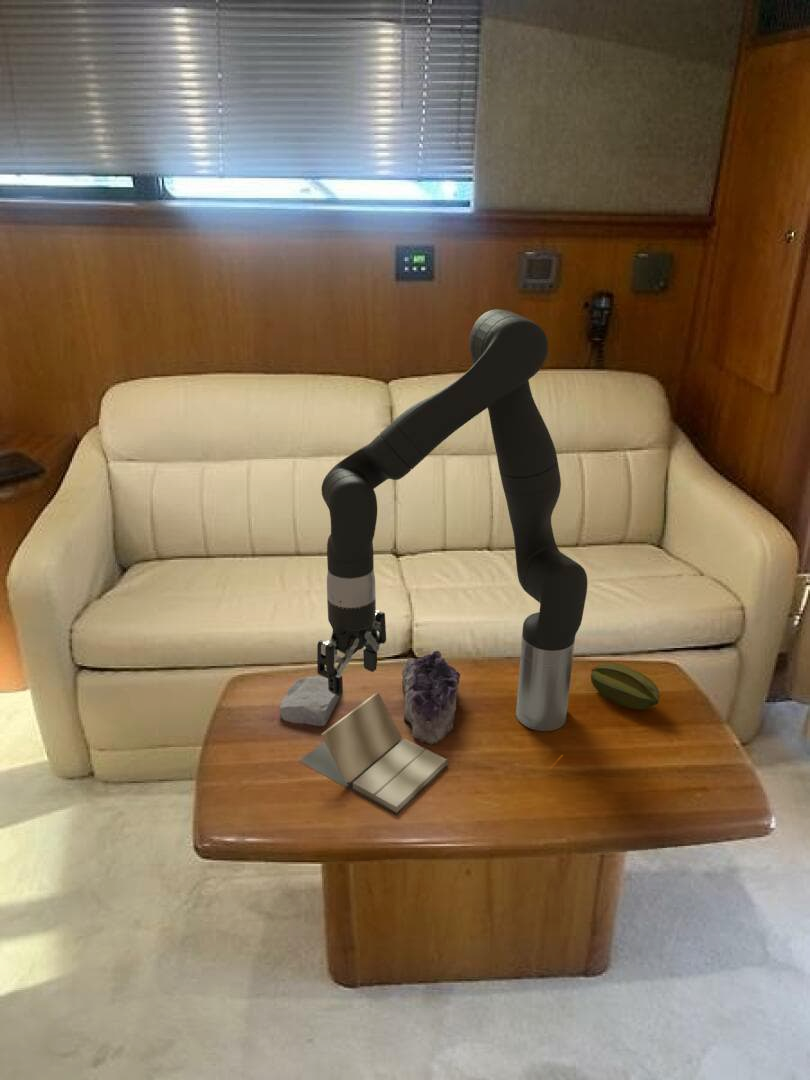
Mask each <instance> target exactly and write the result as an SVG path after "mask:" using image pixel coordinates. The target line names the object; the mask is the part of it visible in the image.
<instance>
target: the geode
mask: <svg viewBox="0 0 810 1080" xmlns="http://www.w3.org/2000/svg"><path fill="white" fill-rule="evenodd" d="M401 675H402V680H401V681H402V682H401V685H402V690H403V692H404V694H405V695H404V708H403V709H404V710H403V720H404V721H405V722H407V723H409V724H410V726H411V728H412V737H413V739H415V740H417V741H419V742H420V743H423V744H425V745H429V746H434V745H436V744H438V743H440V742H441V741H442V740H443V739H444V738H446V737H447V736H448V735H449V734H450V733H451V732H452V731H453V729H454V723H455V712H456V711H457V704H456V703H457V696H458V690H459V684H460V677H461V673H460V672H459V671H457V670H456V668H454V667H453V666H451V665H449V664H448V663H447V662H446V658H445V657H442V653H441V651H439V650H435V651H433V652H432V654H431V653H430V654H425V655H423V656H422V657H421V658H413V657H410V658H408V659H407V660H406V662H405V663H404V665H403V667H402V669H401Z"/></svg>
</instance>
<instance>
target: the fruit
mask: <svg viewBox="0 0 810 1080" xmlns="http://www.w3.org/2000/svg"><path fill="white" fill-rule="evenodd" d="M590 681H591V684H592V685H593V687H594V688H595V690H596V691H597V692H598V693H600V695H602V696H603V697H604V698H606V699H607V700H609V701H611V702H613V703H615V704H617V705H618V706H622V707H625V708H627V709H631V710H632V709H633V710H646V709H649V708H651V707H653V706H656V705H659V704H660V703H659V699H660V696H661V695H660V692H659V688H658V686H657V685H656V684H655V682H653V680H651V679H650V678H649V677H647V676H646V675H645V674H643V673H641V672H640V671H638V670H636V669H633V668H631V667H629V666H626V665H624V664H621V663H614V662H613V663H601V664H598V665H596V666H595V667H593V668H591V674H590Z"/></svg>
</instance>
